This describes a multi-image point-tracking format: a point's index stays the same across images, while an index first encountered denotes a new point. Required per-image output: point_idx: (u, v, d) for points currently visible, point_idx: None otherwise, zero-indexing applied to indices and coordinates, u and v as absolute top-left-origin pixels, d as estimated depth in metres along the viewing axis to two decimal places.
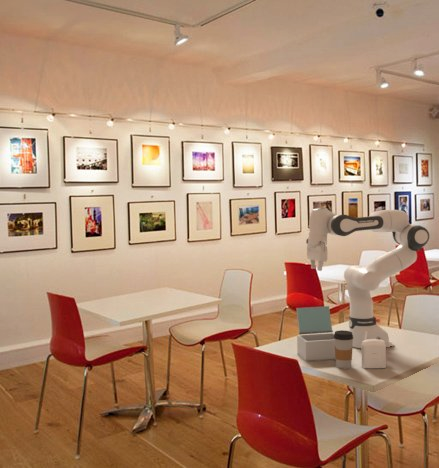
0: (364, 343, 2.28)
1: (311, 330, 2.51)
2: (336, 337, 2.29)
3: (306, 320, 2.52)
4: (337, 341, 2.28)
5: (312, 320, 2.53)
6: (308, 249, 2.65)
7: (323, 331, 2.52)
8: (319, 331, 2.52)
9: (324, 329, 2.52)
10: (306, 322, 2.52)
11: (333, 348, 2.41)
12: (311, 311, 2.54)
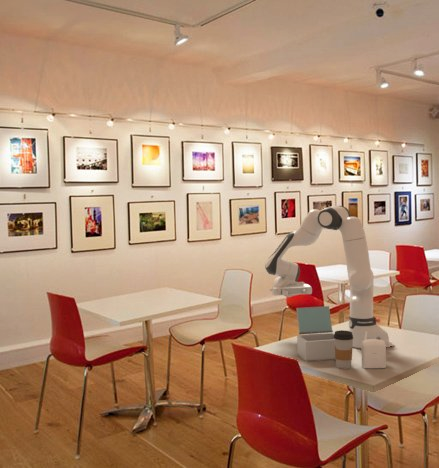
0: (364, 343, 2.28)
1: (311, 330, 2.51)
2: (336, 337, 2.29)
3: (306, 320, 2.52)
4: (337, 341, 2.28)
5: (312, 320, 2.53)
6: None
7: (323, 331, 2.52)
8: (319, 331, 2.52)
9: (324, 329, 2.52)
10: (306, 322, 2.52)
11: (333, 348, 2.41)
12: (311, 311, 2.54)
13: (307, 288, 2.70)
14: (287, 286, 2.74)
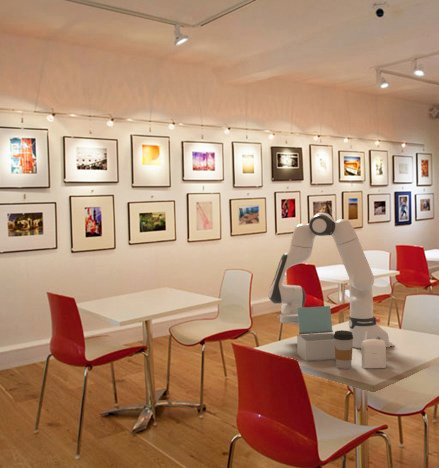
0: (364, 343, 2.28)
1: (311, 330, 2.51)
2: (336, 337, 2.29)
3: (306, 320, 2.52)
4: (337, 341, 2.28)
5: (312, 320, 2.52)
6: None
7: (323, 331, 2.52)
8: (319, 331, 2.52)
9: (324, 329, 2.52)
10: (306, 322, 2.51)
11: (333, 348, 2.41)
12: (312, 311, 2.53)
13: None
14: (295, 313, 2.62)
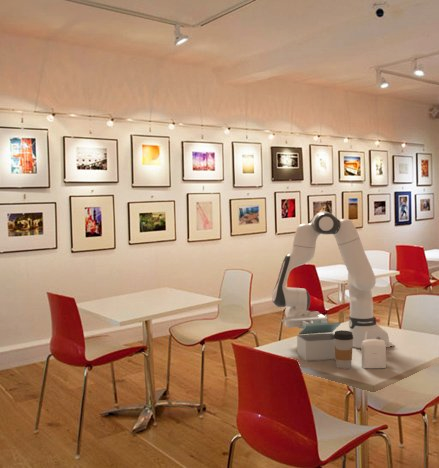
0: (364, 343, 2.28)
1: (312, 332, 2.50)
2: (336, 337, 2.29)
3: (311, 329, 2.46)
4: (337, 341, 2.28)
5: (317, 329, 2.46)
6: None
7: (323, 332, 2.52)
8: (319, 332, 2.52)
9: (325, 331, 2.51)
10: (310, 330, 2.47)
11: (333, 348, 2.41)
12: (320, 326, 2.43)
13: (322, 319, 2.50)
14: (300, 317, 2.54)
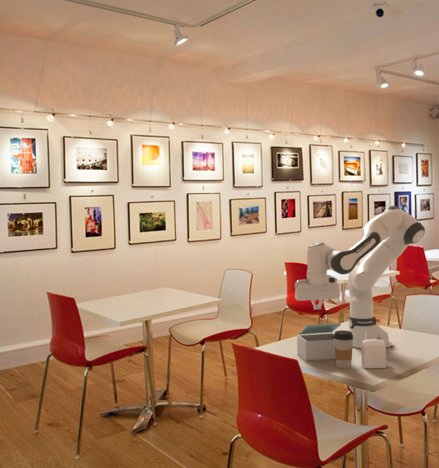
0: (364, 343, 2.28)
1: (312, 332, 2.50)
2: (336, 337, 2.29)
3: (311, 330, 2.46)
4: (337, 341, 2.28)
5: (317, 330, 2.46)
6: None
7: (323, 332, 2.52)
8: (319, 332, 2.52)
9: (325, 332, 2.51)
10: (310, 331, 2.47)
11: (333, 348, 2.41)
12: (320, 327, 2.43)
13: None
14: (315, 287, 2.39)
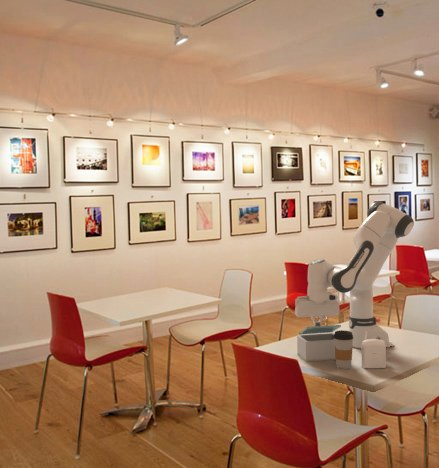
0: (364, 343, 2.28)
1: (312, 333, 2.50)
2: (336, 337, 2.29)
3: (311, 331, 2.45)
4: (337, 341, 2.28)
5: (317, 330, 2.46)
6: None
7: (323, 332, 2.52)
8: (319, 332, 2.52)
9: (325, 332, 2.51)
10: (310, 331, 2.46)
11: (333, 348, 2.41)
12: (320, 328, 2.42)
13: (333, 315, 2.42)
14: (315, 304, 2.39)
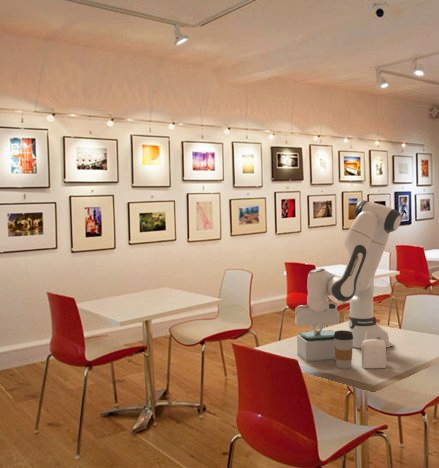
0: (364, 343, 2.28)
1: (312, 333, 2.50)
2: (336, 337, 2.29)
3: (312, 335, 2.45)
4: (337, 341, 2.28)
5: None
6: None
7: (323, 332, 2.52)
8: None
9: None
10: None
11: (333, 348, 2.41)
12: None
13: None
14: (315, 313, 2.40)
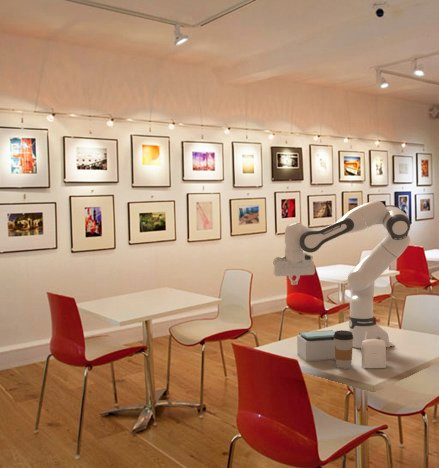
0: (364, 343, 2.28)
1: (312, 333, 2.50)
2: (336, 337, 2.29)
3: None
4: (337, 341, 2.28)
5: None
6: None
7: (323, 332, 2.52)
8: None
9: None
10: None
11: (333, 348, 2.41)
12: None
13: (309, 274, 2.61)
14: (292, 264, 2.58)
